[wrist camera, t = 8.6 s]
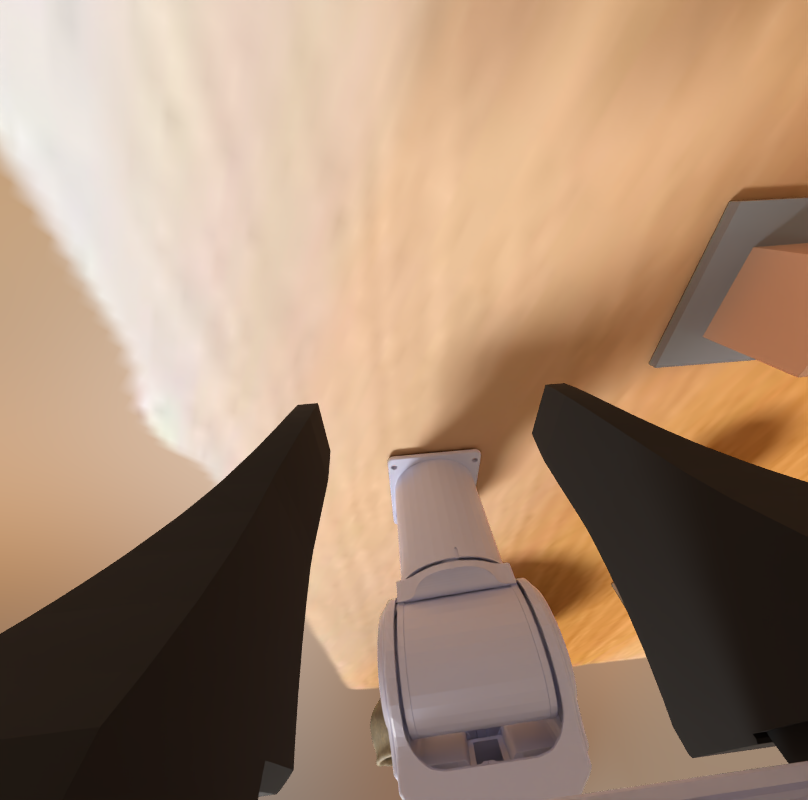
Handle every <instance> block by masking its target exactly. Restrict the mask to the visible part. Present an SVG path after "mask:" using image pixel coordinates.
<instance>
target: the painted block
mask: <svg viewBox="0 0 808 800" xmlns="http://www.w3.org/2000/svg"><path fill="white" fill-rule="evenodd" d="M703 337H704V338H706V339H709V340H711V341H713V342H716V343H718V344H720V345H723V346H725V347H728V348H730V349H732V350H735V351H737V352H739V353H742V354H744V355H746V356H749V357H751V358H753V359H756V360H758V361H760V362H763V363H765V364H767V365H770V366H772V367H774V368H777V369H779V370H782V371H784V372H786V373H789V374H791V375H793V376H796V377H807V376H808V243H801V244H788V245H776V246H763V247H753V248H752V250H751V252H750V254H749V256H748V257H747V259H746V261H745V263H744V264H743V266H742V268H741V270H740V271H739V273H738V275H737V277H736V279H735V280H734V282H733V284H732V286H731V287H730V289H729V291H728V293H727V294H726V296H725V298H724V300H723V301H722V303H721V305H720V307H719V309H718V310H717V312H716V314H715V316H714V317H713V319H712V321H711V323H710V324H709V326H708V328H707V330H706V332H705V333H704V335H703Z"/></svg>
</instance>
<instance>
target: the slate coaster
mask: <svg viewBox="0 0 808 800" xmlns="http://www.w3.org/2000/svg"><path fill="white" fill-rule="evenodd" d="M801 243H808V197H801V198H782V199H764V200H745V201H730V202H729V204H728V206H727V208H726V210H725V212H724V214H723V216H722V218H721V220H720V222H719V224H718V226H717V228H716V230H715V232H714V234H713V236H712V238H711V240H710V242H709V244H708V246H707V248H706V250H705V252H704V254H703V256H702V258H701V260H700V262H699V264H698V266H697V268H696V270H695V272H694V274H693V276H692V278H691V280H690V282H689V284H688V286H687V288H686V290H685V292H684V294H683V296H682V298H681V300H680V302H679V304H678V306H677V308H676V310H675V312H674V314H673V316H672V318H671V320H670V322H669V324H668V326H667V328H666V330H665V332H664V334H663V336H662V338H661V340H660V342H659V344H658V346H657V348H656V350H655V352H654V354H653V356H652V358H651V361H650V363H649V364H650V365H651V366H653V367H655V368H660V367H672V366H685V365H697V364H710V363H722V362H735V361H748V360H756V359H753V358H751V357H749V356H746V355H744V354H742V353H739V352H737V351H735V350H732V349H730V348H728V347H725V346H723V345H720V344H718V343H716V342H713V341H711V340H709V339H706V338H704V337H703V335H704V333H705V332H706V330H707V328H708V326H709V324H710V323H711V321H712V319H713V317H714V316H715V314H716V312H717V310H718V309H719V307H720V305H721V303H722V301H723V300H724V298H725V296H726V294H727V293H728V291H729V289H730V287H731V286H732V284H733V282H734V280H735V279H736V277H737V275H738V273H739V271H740V270H741V268H742V266H743V264H744V263H745V261H746V259H747V257H748V256H749V254H750V252H751V250H752V248H753V247H763V246H776V245H788V244H801Z"/></svg>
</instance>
